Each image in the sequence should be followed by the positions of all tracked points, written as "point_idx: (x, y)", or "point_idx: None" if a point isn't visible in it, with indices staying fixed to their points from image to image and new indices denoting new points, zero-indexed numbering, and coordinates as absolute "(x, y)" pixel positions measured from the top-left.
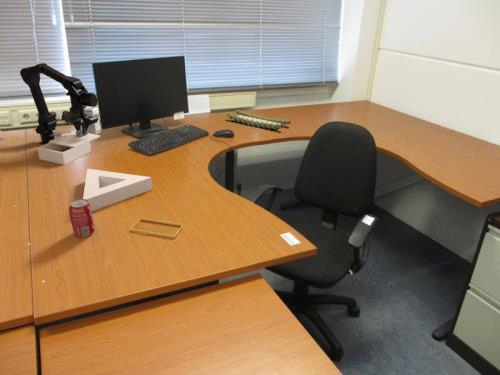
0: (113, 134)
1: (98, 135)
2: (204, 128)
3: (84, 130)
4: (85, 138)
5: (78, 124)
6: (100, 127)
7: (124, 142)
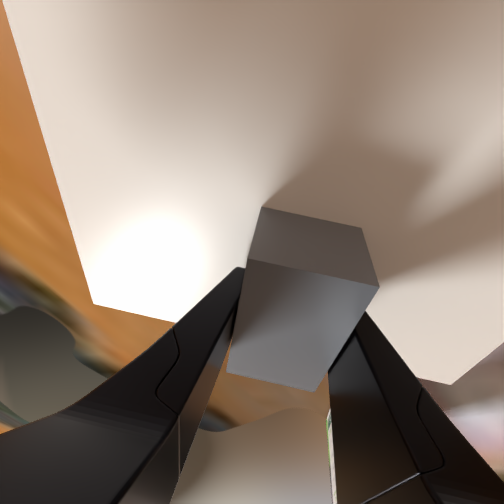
0: (244, 395)
1: (104, 300)
2: (5, 428)
3: (185, 324)
4: (152, 168)
5: (367, 494)
6: (328, 445)
7: (108, 321)
